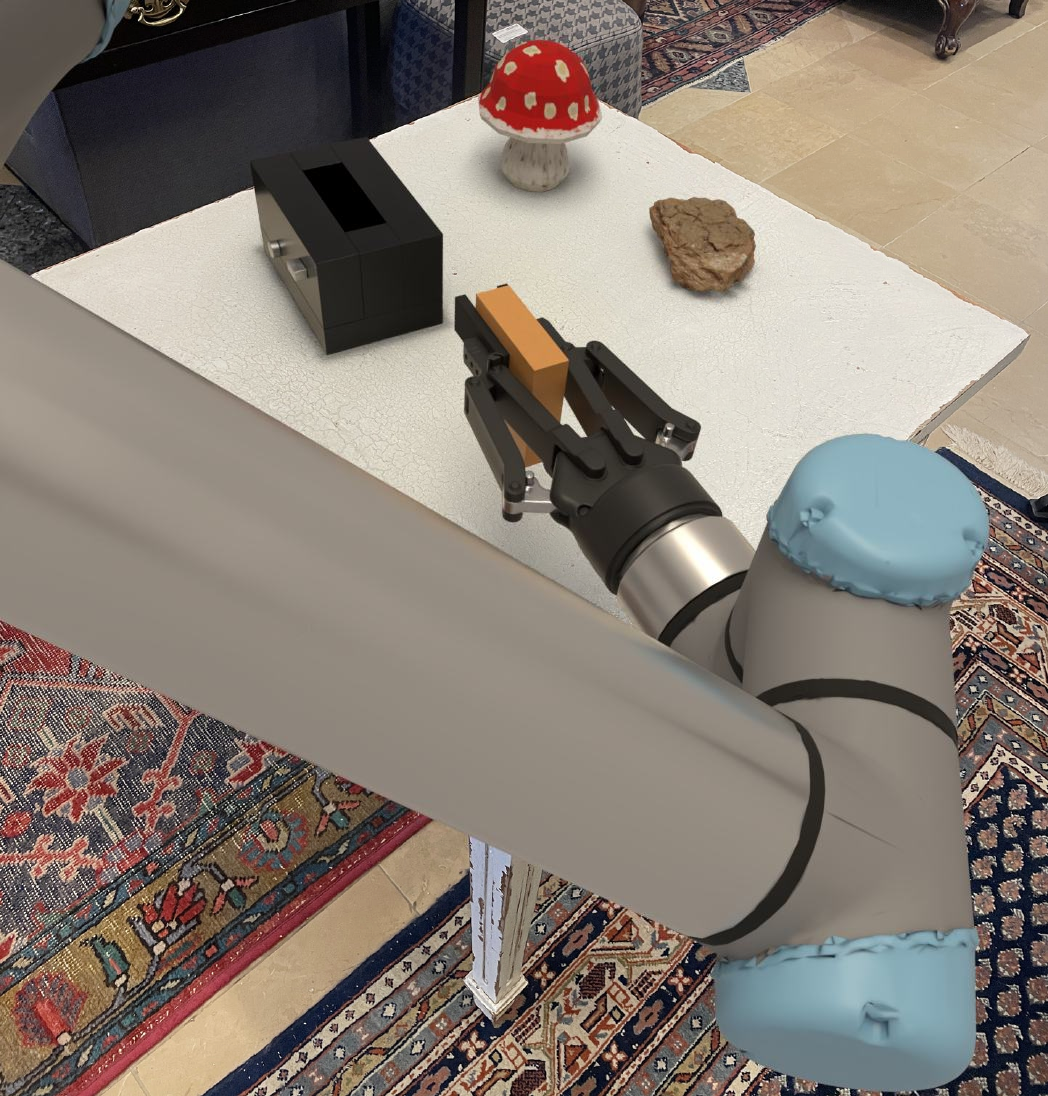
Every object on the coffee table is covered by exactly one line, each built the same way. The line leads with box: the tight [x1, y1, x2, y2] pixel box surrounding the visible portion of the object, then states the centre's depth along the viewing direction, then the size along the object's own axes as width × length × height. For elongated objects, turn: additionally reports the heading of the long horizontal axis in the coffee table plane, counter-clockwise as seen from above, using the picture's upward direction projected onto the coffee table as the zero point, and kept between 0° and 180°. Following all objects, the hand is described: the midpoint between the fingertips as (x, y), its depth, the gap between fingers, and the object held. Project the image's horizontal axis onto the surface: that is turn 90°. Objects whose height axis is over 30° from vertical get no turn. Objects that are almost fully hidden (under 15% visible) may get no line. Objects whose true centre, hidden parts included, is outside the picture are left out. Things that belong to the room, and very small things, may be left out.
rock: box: [648, 196, 757, 292], centre depth 101 cm, size 13×11×5 cm
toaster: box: [249, 136, 444, 356], centre depth 93 cm, size 13×18×10 cm
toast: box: [475, 284, 569, 469], centre depth 63 cm, size 2×8×8 cm, turn 28°
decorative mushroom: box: [477, 39, 603, 192], centre depth 106 cm, size 14×14×15 cm
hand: (480, 307), depth 64 cm, fingers closed on toast, 2 cm apart
